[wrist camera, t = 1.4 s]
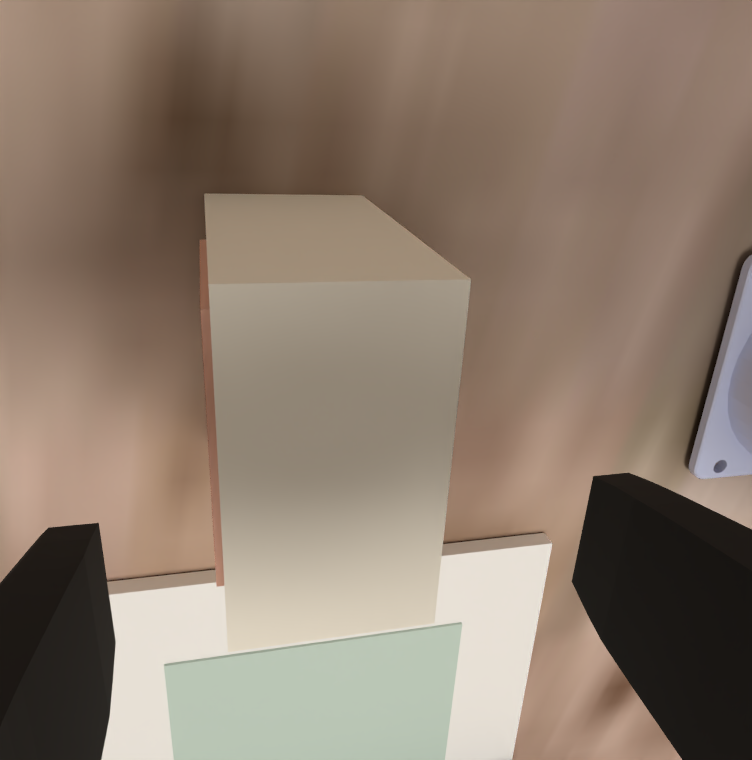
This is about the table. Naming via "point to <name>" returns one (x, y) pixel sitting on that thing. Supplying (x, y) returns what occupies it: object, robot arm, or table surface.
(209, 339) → the carton
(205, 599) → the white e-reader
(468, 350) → the table surface
